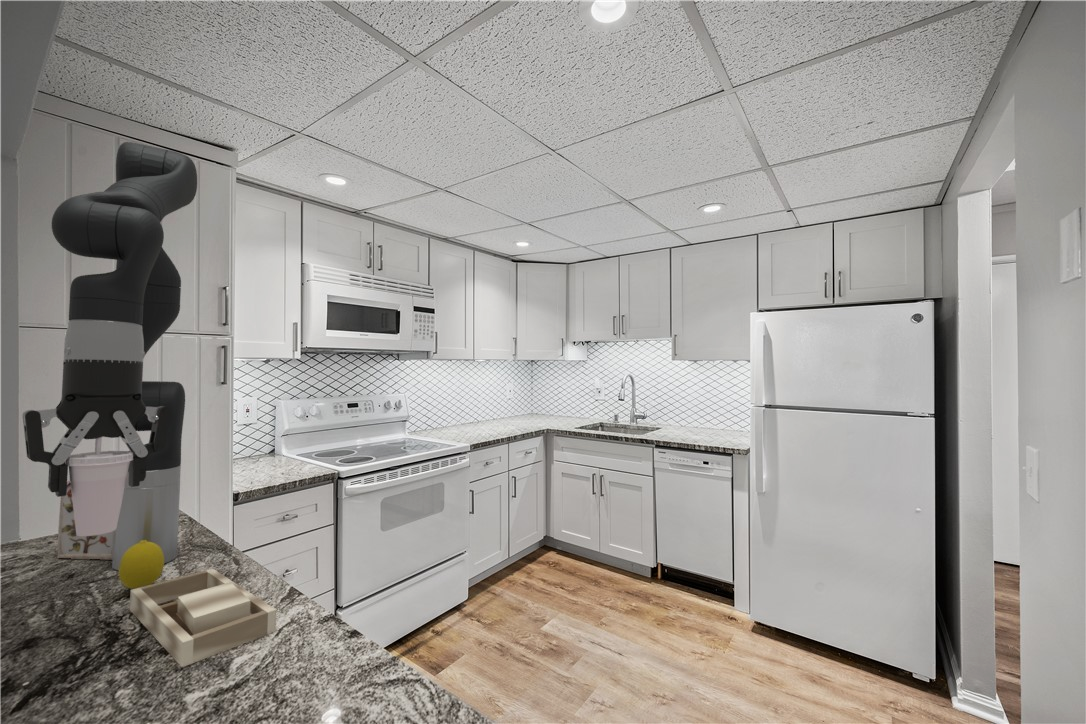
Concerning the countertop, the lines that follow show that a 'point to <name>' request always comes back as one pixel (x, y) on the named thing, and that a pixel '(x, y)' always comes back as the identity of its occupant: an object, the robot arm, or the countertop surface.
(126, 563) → the lemon
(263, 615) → the offcut rack
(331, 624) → the countertop surface
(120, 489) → the smoothie
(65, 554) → the decorative jar
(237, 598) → the offcut top
